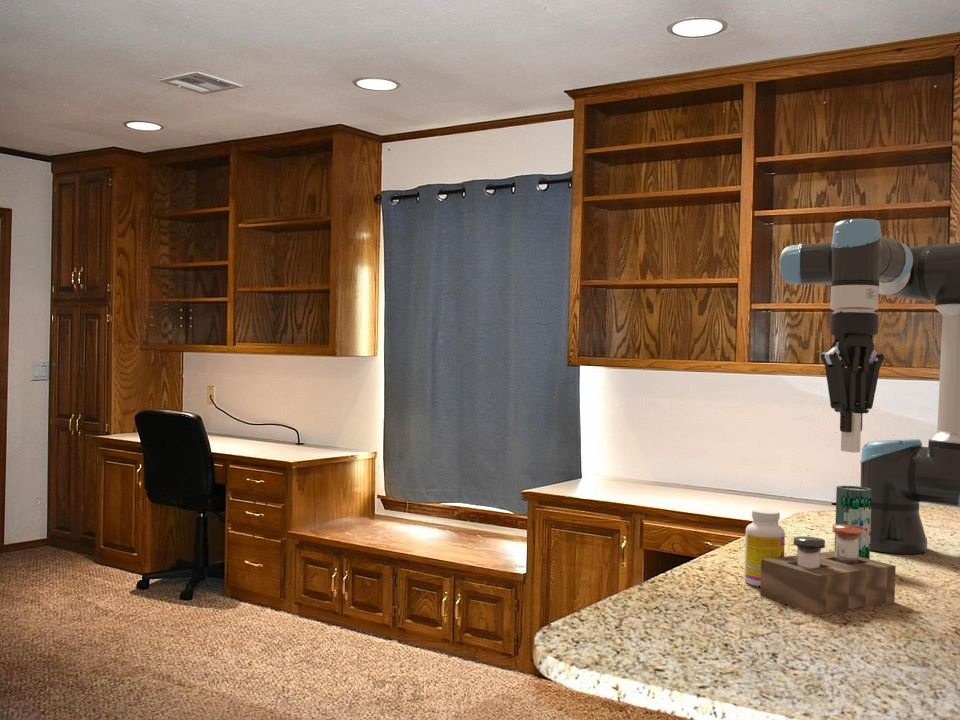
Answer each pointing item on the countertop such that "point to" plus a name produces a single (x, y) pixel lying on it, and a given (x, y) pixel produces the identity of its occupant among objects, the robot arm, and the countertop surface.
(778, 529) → the supplement bottle
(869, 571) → the wooden holder block
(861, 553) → the can
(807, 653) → the countertop surface
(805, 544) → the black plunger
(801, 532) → the countertop surface
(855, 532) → the rust plunger
